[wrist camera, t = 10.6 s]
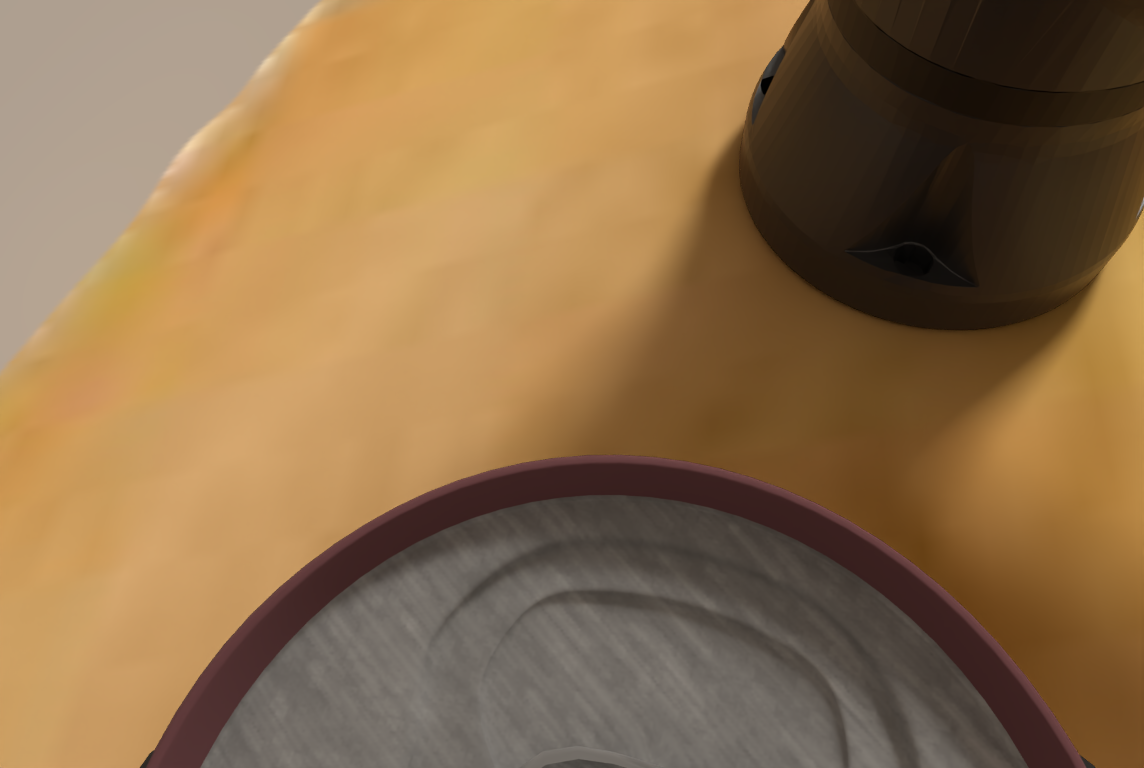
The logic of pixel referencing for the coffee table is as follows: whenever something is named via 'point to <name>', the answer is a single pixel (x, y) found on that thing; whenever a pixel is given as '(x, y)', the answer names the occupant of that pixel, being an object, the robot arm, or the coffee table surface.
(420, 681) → the soda can
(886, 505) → the coffee table surface
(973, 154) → the robot arm
